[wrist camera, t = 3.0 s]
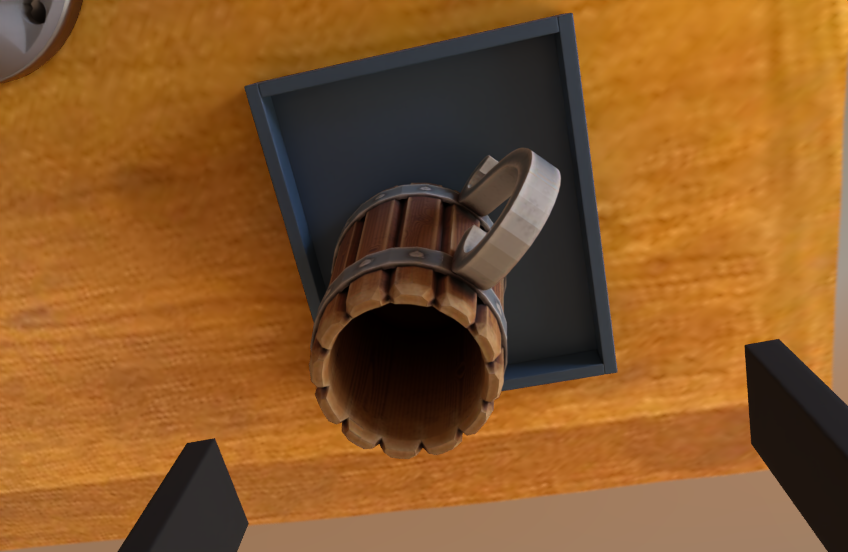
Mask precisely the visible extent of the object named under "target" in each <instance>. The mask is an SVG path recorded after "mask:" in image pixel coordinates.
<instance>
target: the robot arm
mask: <svg viewBox="0 0 848 552" xmlns="http://www.w3.org/2000/svg"><path fill="white" fill-rule="evenodd" d="M82 1H83V0H0V83H5V82H9V81H12V80H16V79H19V78H21V77H23V76H26V75H28V74H30V73H32V72H33V71H35V70H37V69H38V68H40V67H41V66H42V65H44V64H45V63H46V62H48V61H49V60H50V59H51V58H52V57H53V56H54V55H55V54H56V53H57V52H58V50H59V49H60V48H61V47H62V46H63V44H64V43H65V41H66V40H67V38H68V37H69V35H70V33H71V31H72V29H73V27H74V25H75V23H76V20H77V18H78V15H79V12H80V9H81V5H82ZM745 359H746V374H747V388H748V403H749V418H750V432H751V444H752V445H753V447H754V448H755V450H756V451H757V452H758V454H759V455H760V457H761V458H762V459H763V461H764V462H765V464H766V465H767V466H768V468H769V469H770V471H771V472H772V474H773V475H774V476H775V478H776V479H777V481H778V482H779V483H780V485H781V486H782V488H783V489H784V490H785V492H786V493H787V495H788V496H789V497H790V499H791V500H792V501H793V503H794V505H795V506H796V507H797V509H798V510H799V512H800V513H801V514H802V516H803V517H804V519H805V520H806V521H807V523H808V524H809V526H810V527H811V528H812V530H813V531H814V533H815V534H816V536H817V537H818V538H819V540H820V541H821V543H822V544H823V545H824V547H825V548H826V550H827V551H828V552H848V406H847V405H846V404H845V403H844V402H843V401H842V400H841V399H840V398H839V397H838V396H837V395H836V394H835V393H834V392H833V391H832V390H831V389H830V388H829V387H828V386H827V385H826V384H825V383H824V382H823V381H822V380H821V379H820V378H819V377H817V376H816V375H815V374H814V373H813V372H812V371H811V370H810V369H809V368H808V367H807V366H806V365H805V364H804V363H803V362H802V361H801V360H800V359H799V358H798V357H797V356H796V355H795V354H794V353H793V352H792V351H791V350H790V349H789V348H788V347H787V346H785V345H784V344H783V343H782V342H781V341H780V340H779V339H776V340H770V341H765V342H759V343H753V344H748V345H745ZM248 524H249V523H248V521H247V518H246V516H245V513H244V511H243V508H242V506H241V503H240V501H239V498H238V496H237V493H236V490H235V488H234V485H233V483H232V480H231V478H230V475H229V473H228V470H227V468H226V465H225V463H224V460H223V458H222V455H221V453H220V450H219V447H218V445H217V442H216V440H215V438H214V439H208V440H203V441H197V442H191V443H187V444H186V446H185V447H184V449H183V450H182V452H181V453H180V455H179V456H178V458H177V460H176V461H175V463H174V464H173V466H172V467H171V469H170V471H169V472H168V474H167V475H166V477H165V478H164V480H163V482H162V483H161V485H160V486H159V488H158V489H157V491H156V492H155V494H154V496H153V497H152V499H151V500H150V502H149V503H148V505H147V507H146V508H145V510H144V511H143V513H142V514H141V516H140V518H139V519H138V521H137V522H136V524H135V525H134V527H133V529H132V530H131V532H130V533H129V535H128V536H127V538H126V539H125V541H124V543H123V544H122V546H121V547H120V549H119V551H118V552H237V550H238V548H239V545H240V543H241V541H242V538H243V536H244V533H245V531H246V528H247V526H248Z"/></svg>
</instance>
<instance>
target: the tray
mask: <svg viewBox="0 0 848 552" xmlns="http://www.w3.org/2000/svg"><path fill="white" fill-rule="evenodd" d="M244 88H245V92H246V95H247V98H248V102H249V105H250V109H251V112H252V115H253V119H254V122H255V125H256V129H257V132H258V136H259V139H260V142H261V146H262V149H263V152H264V156H265V159H266V163H267V166H268V169H269V173H270V176H271V180H272V183H273V186H274V190H275V193H276V196H277V200H278V203H279V207H280V210H281V213H282V217H283V220H284V223H285V227H286V230H287V234H288V237H289V240H290V244H291V247H292V250H293V254H294V257H295V261H296V264H297V267H298V271H299V274H300V277H301V281H302V284H303V288H304V291H305V294H306V298H307V301H308V304H309V308H310V311H311V315H312V318H313V321H314V322H315V319H316V315H317V312H318V308H319V306H320V304H321V302H322V299H323V297H324V295H325V293H326V291H327V289H328V287H329V283H330V279H331V276H332V274H331V270H332V264H333V258H334V252H335V248H336V244H337V241H338V239H339V237H340V234H341V232H342V230H343V228H344V226H345V224H346V222H347V220H348V219H349V218H350V217H351V216H352V215H353V214H354V212H355V211H356V210H357V209H358V208H359V207H360V206H361V205H362V204H363V203H365V202H366V201H368V200H369V199H370V198H371V197H373V196H375V195H376V194H378V193H380V192H382V191H383V190H386V189H389V188H392V187H394V186H397V185H398V186H401V185H410V184H411V183H431V184H437V185H442V186H443V188H448V189H451V190H453V191H454V190H456V191H458V192H460V193H461V191H462V189H463V187H464V185H465V184H466V182H467V180H468V179H469V177H470V176H471V174H472V173H473V171H474V170H475V169H476V167H477V166H478V165H479V164H480V162H481V161H482V160H483V159H484V158H485V157H486V156H488V155H490V156H491V157H492V158H494V159H495V160H497V161H498V162H499V161H500V160H502V159H503V158H504V157H505V156H507V155H508V154H509V153H511V152H512V151H514V150H516V149H518V148H528V149H530V150H531V151H533V152H534V153H536V154H537V155H538V156H540V157H541V158H543V159H544V160H546V161H547V162H548V163H550V164H551V165H553V166H554V167H555V168H557V169H558V170H559V172H560V176H561V182H560V188H559V192H558V195H557V198H556V201H555V204H554V206H553V208H552V210H551V213H550V215H549V217H548V219H547V220H546V222H545V224H544V226H543V228H542V229H541V231H540V233H539V234H538V236H537V237H536V239H535V240H534V242H533V243H532V245H531V246H530V247H529V249H528V250H527V251H526V253H525V254H524V255H523V256H522V258H521V259H520V260H519V262H518V263H517V264H516V265H515V266H514V267H513V268H512V270H511V271H510V272H509V273H508V274H507V275H506V289H505V293H504V316H505V319H506V322H507V366H506V370H505V373H504V383H503V386H502V390H501V391H506V390H512V389H518V388H524V387H530V386H537V385H543V384H549V383H555V382H561V381H567V380H574V379H580V378H586V377H592V376H598V375H604V374H611V373H617V364H616V356H615V348H614V340H613V332H612V324H611V316H610V308H609V300H608V292H607V284H606V276H605V268H604V260H603V252H602V244H601V236H600V228H599V220H598V212H597V204H596V196H595V188H594V180H593V172H592V164H591V156H590V148H589V140H588V132H587V124H586V116H585V108H584V100H583V92H582V84H581V76H580V68H579V60H578V52H577V44H576V36H575V28H574V20H573V14H572V13H566V14H561V15H556V16H552V17H547V18H543V19H538V20H534V21H529V22H525V23H520V24H516V25H512V26H507V27H503V28H498V29H494V30H489V31H485V32H480V33H476V34H471V35H467V36H462V37H458V38H454V39H449V40H445V41H440V42H436V43H431V44H427V45H422V46H418V47H413V48H409V49H404V50H400V51H395V52H391V53H387V54H382V55H378V56H373V57H369V58H364V59H360V60H355V61H351V62H346V63H342V64H337V65H333V66H329V67H324V68H320V69H315V70H311V71H306V72H302V73H297V74H293V75H288V76H284V77H279V78H275V79H271V80H266V81H262V82H257V83H254V84H250V85H247V86H245V87H244ZM510 197H511V196H510ZM510 197H509V198H508V199H506V200H505V201H504V202H503V203H502V204H500V205H499V206H498V207H497V208H496V209H494V210H493V211H492V212H490V213H489V214H488V216H489V218H490V219H491V221H492V222H493V224H494V223H495V222H496V221H497V219H498V218H499V216H500V215H501V213H502V212H503V210H504V208H505V206H506V205H507V203H508V201H509V199H510Z"/></svg>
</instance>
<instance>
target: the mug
mask: <svg viewBox="0 0 848 552" xmlns="http://www.w3.org/2000/svg"><path fill="white" fill-rule="evenodd" d="M560 182H561V176H560V172H559V170H558V169H557V168H555V167H554V166H553V165H551V164H550V163H548V162H547V161H546V160H544V159H543V158H541V157H540V156H538V155H537V154H536V153H534V152H533V151H531V150H530V149H528V148H518V149H516V150H514V151H512V152H511V153H509V154H508V155H507V156H505V157H504V158H503V159H502V160H500V161H499V162H498V161H497V160H495V159H494V158H492V157H491V156H490V155H488V156H486V157H485V158H484V159H483V160H482V161H481V162H480V164H479V165H478V166H477V167H476V169H475V170H474V171H473V173H472V174H471V176H470V177H469V179H468V180H467V182H466V184H465V185H464V187H463V189H462V191H461V193H460V192H458V191H456V190H454V191H453V190H451V189H448V188H443V186H442V185H437V184H431V183H411V184H410V185H401V186H398V185H397V186H394V187H392V188H389V189H386V190H383V191H382V192H380V193H378V194H376V195H375V196H373V197H371V198H370V199H369V200H368V201H366V202H365V203H363V204H362V205H361V206H360V207H359V208H358V209H357V210H356V211H355V212H354V214H353V215H352V216H351V217H350V218H349V219H348V220H347V222H346V224H345V226H344V228H343V230H342V232H341V234H340V237H339V239H338V241H337V244H336V248H335V252H334V258H333V264H332V270H331V274H332V276H331V279H330V283H329V287H328V289H327V291H326V293H325V295H324V297H323V299H322V302H321V304H320V306H319V308H318V312H317V315H316V319H315V322H314V327H313V334H312V340H311V346H310V347H311V357H310V363H309V370H310V376H311V381H312V382H313V383H314V384H315V385H316V386H317V389H316V393H315V396H316V398H317V401H318V403H319V406H320V408H321V410H322V411H323V413H324V415H325V416H326V418H327V419H328V421H330V422H332V423H334V424H338V423H341V422H342V432H343V434H344V435H345V436H346V437H347V439H348V440H349V441H351V442H352V443H354V444H355V445H357V446H359V447H361V448H363V449H372V448H374V447H375V446H377V445H378V444H380V446H381V448H382V449H383V451H384V453H386V454H387V455H388V456H390V457H391V458H399V459H410V458H412V457H414V456H416V455H417V454H418V453H419V452H420V450H421V449H422V448H424V449H425V450H426V451H427V452H428V453H429V454H433V455H439V454H442V453H445V452H447V451H449V450H452V449H454V448H455V447H456V446H457V445H458V444H459V443H461V442H462V434H463V433H465V434H466V435H471V434H475V433H476V432H477V431H478V430H479V429H480V428H481V427H482V426H483V425H484V424H485V423H486V421H487V420H488V418H489V416H490V415H491V413H492V411H493V410H494V400H495V399H497V398H499V396H500V393H501V390H502V386H503V383H504V373H505V370H506V366H507V322H506V319H505V316H504V293H505V289H506V275H507V274H508V273H509V272H510V271H511V270H512V268H513V267H514V266H515V265H516V264H517V263H518V262H519V260H520V259H521V258H522V256H523V255H524V254H525V253H526V251H527V250H528V249H529V247H530V246H531V245H532V243H533V242H534V240H535V239H536V237H537V236H538V234H539V233H540V231H541V229H542V228H543V226H544V224H545V222H546V220H547V219H548V217H549V215H550V213H551V210H552V208H553V206H554V204H555V201H556V198H557V195H558V192H559V188H560ZM510 196H511V197H510ZM509 197H510V199H509V201H508V203H507V205H506V206H505V208H504V210H503V212H502V213H501V215H500V216H499V218H498V219H497V221H496V222H495V223H494V224H493V222H492V221H491V219H490V218H489V216H488V214H489V213H490V212H492V211H493V210H494V209H496V208H497V207H498V206H499V205H500V204H502V203H503V202H504V201H505V200H506V199H508V198H509Z"/></svg>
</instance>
